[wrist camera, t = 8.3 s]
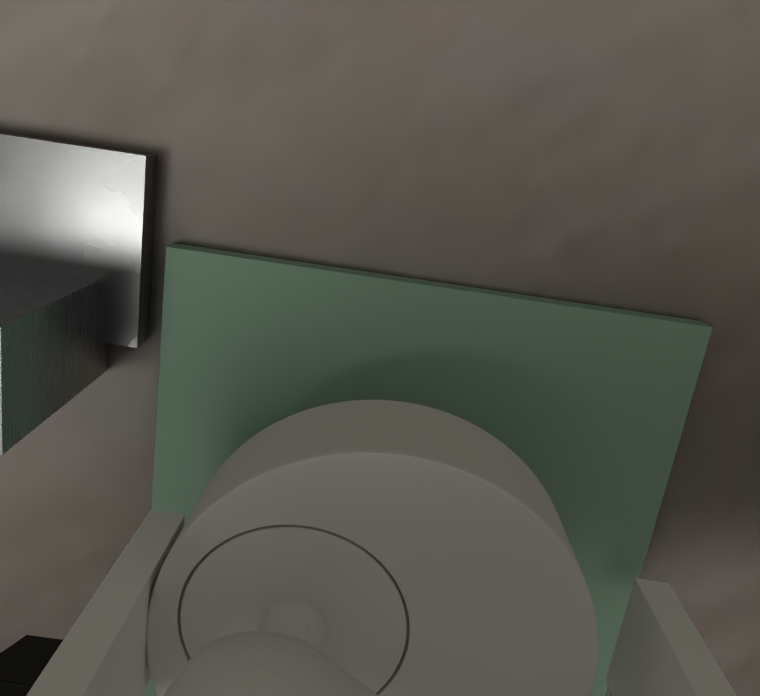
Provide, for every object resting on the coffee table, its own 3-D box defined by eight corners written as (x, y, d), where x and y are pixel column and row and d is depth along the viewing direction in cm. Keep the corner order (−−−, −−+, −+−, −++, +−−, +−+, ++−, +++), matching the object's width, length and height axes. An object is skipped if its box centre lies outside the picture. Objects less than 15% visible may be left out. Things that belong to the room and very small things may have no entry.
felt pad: (147, 680, 21) (140, 695, 20) (174, 243, 17) (166, 246, 16) (582, 739, 21) (587, 756, 20) (702, 321, 17) (713, 327, 17)
